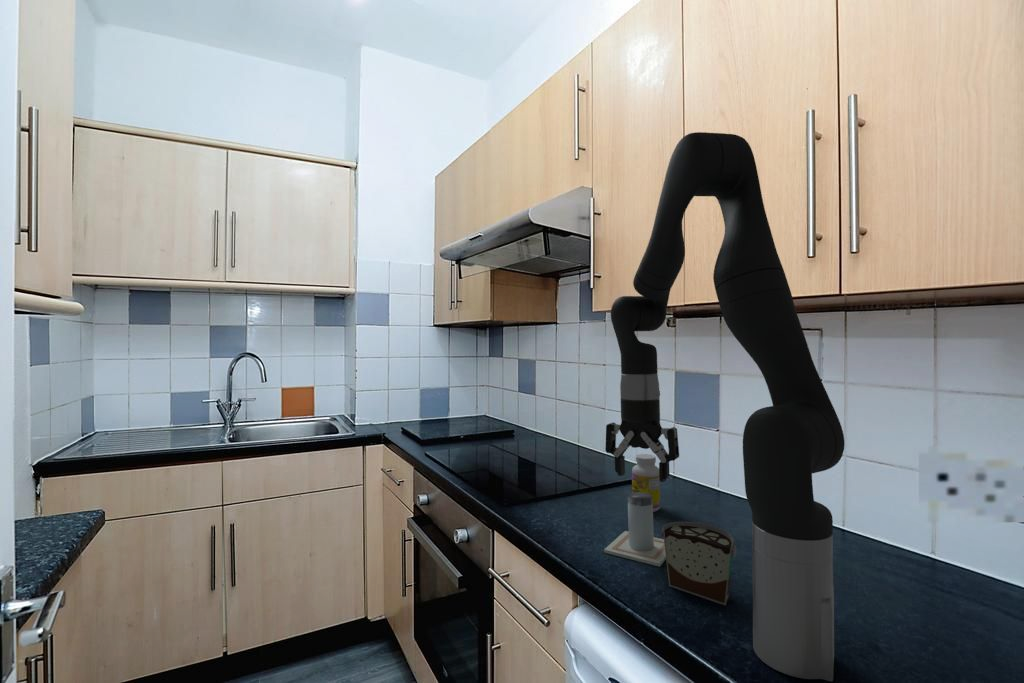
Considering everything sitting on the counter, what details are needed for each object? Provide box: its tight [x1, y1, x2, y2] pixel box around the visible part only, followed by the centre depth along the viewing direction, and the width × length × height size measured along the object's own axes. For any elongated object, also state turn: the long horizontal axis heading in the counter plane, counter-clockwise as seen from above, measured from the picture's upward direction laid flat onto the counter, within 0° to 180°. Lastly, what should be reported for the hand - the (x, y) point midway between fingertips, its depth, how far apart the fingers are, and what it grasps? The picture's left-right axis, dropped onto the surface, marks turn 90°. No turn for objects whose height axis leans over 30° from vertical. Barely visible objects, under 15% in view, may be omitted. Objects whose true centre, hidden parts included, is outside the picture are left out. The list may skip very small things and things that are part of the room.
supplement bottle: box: [631, 453, 661, 513], centre depth 121 cm, size 7×7×13 cm
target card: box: [603, 530, 666, 568], centre depth 98 cm, size 11×11×1 cm
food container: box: [659, 521, 738, 606], centre depth 83 cm, size 12×6×10 cm, turn 48°
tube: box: [627, 491, 655, 551], centre depth 98 cm, size 5×5×10 cm
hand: (641, 477), depth 98 cm, fingers open, 8 cm apart
